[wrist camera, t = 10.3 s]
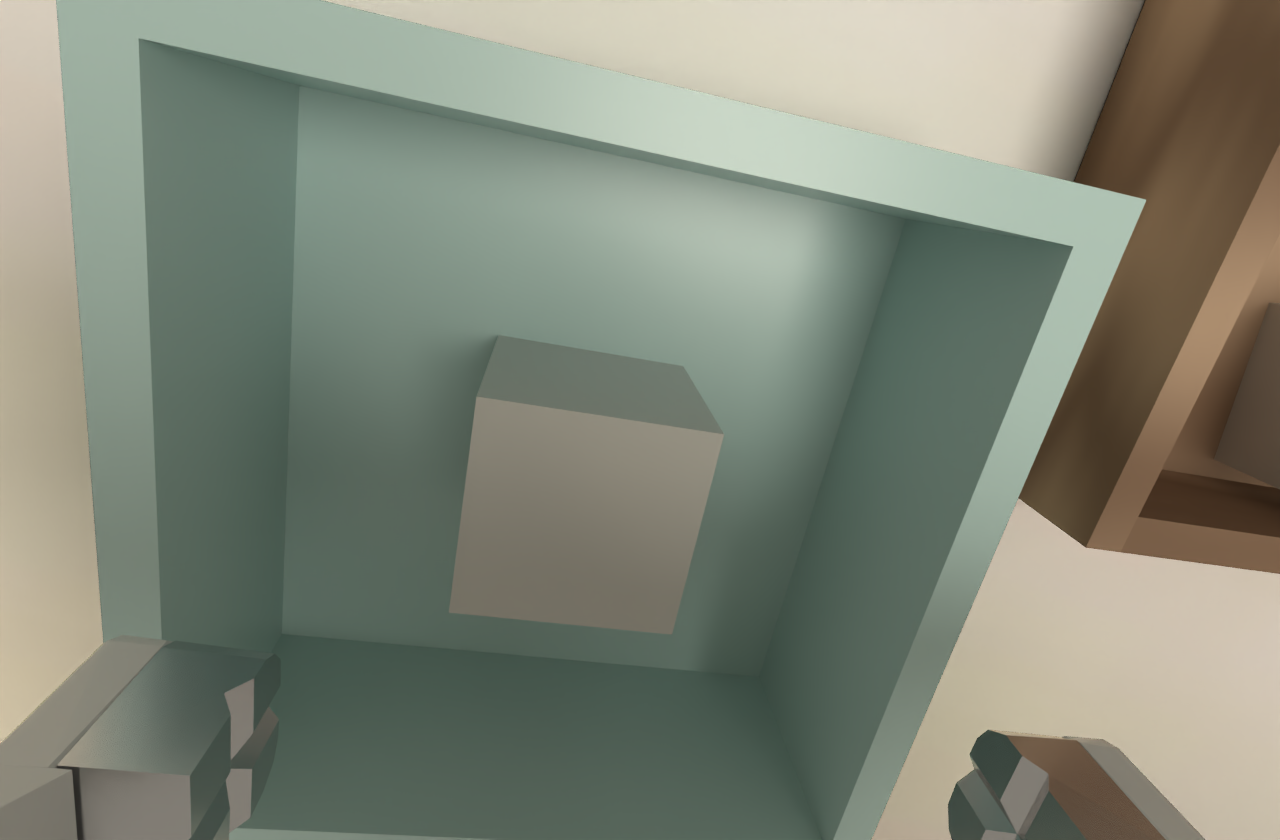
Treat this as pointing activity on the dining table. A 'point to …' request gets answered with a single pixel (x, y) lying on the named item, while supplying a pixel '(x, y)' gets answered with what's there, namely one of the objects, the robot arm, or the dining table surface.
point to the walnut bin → (1177, 296)
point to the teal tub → (562, 315)
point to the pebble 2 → (1257, 409)
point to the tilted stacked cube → (582, 488)
